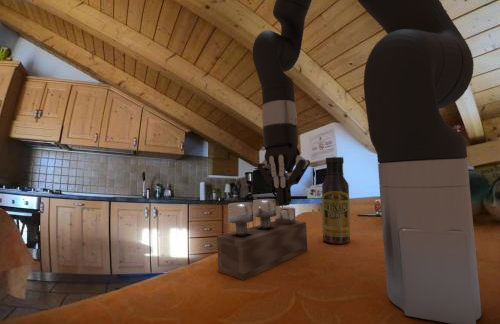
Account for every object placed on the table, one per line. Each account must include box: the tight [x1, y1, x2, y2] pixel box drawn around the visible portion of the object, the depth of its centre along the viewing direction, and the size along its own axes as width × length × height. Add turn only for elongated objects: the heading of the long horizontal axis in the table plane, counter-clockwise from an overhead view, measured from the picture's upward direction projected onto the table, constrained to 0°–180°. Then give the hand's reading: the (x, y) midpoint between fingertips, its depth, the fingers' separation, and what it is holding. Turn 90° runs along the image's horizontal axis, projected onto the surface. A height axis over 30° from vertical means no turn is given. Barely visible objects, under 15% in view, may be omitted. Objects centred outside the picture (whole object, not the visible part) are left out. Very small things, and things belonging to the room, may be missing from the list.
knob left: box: [227, 201, 254, 238], centre depth 44 cm, size 4×4×7 cm
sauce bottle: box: [321, 156, 351, 245], centre depth 59 cm, size 6×6×20 cm
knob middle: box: [252, 198, 277, 231], centre depth 49 cm, size 4×4×7 cm
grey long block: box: [216, 220, 308, 281], centre depth 49 cm, size 19×6×6 cm, turn 136°
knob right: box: [274, 206, 297, 225], centre depth 54 cm, size 4×4×7 cm
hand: (284, 205), depth 54 cm, fingers closed
